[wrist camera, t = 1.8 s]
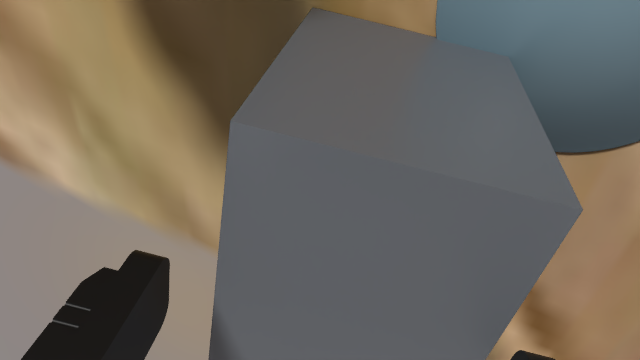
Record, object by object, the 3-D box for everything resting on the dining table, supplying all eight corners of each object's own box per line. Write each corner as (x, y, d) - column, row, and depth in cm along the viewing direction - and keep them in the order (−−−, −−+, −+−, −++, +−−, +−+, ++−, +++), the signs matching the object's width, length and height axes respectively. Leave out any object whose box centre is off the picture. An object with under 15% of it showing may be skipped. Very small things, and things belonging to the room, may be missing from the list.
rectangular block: (507, 54, 16) (583, 210, 9) (425, 243, 21) (431, 441, 14) (312, 7, 16) (230, 120, 9) (277, 205, 21) (206, 381, 14)
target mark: (889, -45, 13) (895, -44, 13) (590, 194, 18) (591, 197, 18) (616, -291, 11) (619, -292, 11) (376, 52, 17) (376, 54, 17)
